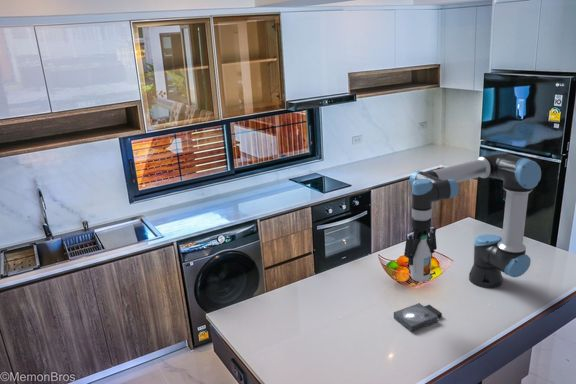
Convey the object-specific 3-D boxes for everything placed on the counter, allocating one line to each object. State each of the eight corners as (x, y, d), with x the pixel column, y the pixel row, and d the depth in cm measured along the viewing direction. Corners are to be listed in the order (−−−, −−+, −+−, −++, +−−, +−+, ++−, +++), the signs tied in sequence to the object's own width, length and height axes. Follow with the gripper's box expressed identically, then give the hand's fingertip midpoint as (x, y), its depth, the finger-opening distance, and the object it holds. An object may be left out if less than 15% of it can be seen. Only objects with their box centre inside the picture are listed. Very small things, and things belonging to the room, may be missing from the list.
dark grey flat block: (426, 306, 217) (426, 300, 216) (445, 319, 206) (445, 313, 205) (393, 318, 210) (393, 312, 209) (411, 332, 199) (411, 326, 198)
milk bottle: (416, 283, 195) (417, 239, 189) (407, 275, 202) (407, 231, 196) (433, 280, 197) (435, 235, 190) (423, 271, 204) (424, 228, 198)
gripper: (434, 209, 198) (433, 258, 205) (394, 220, 190) (394, 271, 197) (447, 214, 192) (445, 265, 199) (407, 226, 183) (406, 279, 191)
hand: (420, 268), depth 198 cm, fingers closed on milk bottle, 8 cm apart
